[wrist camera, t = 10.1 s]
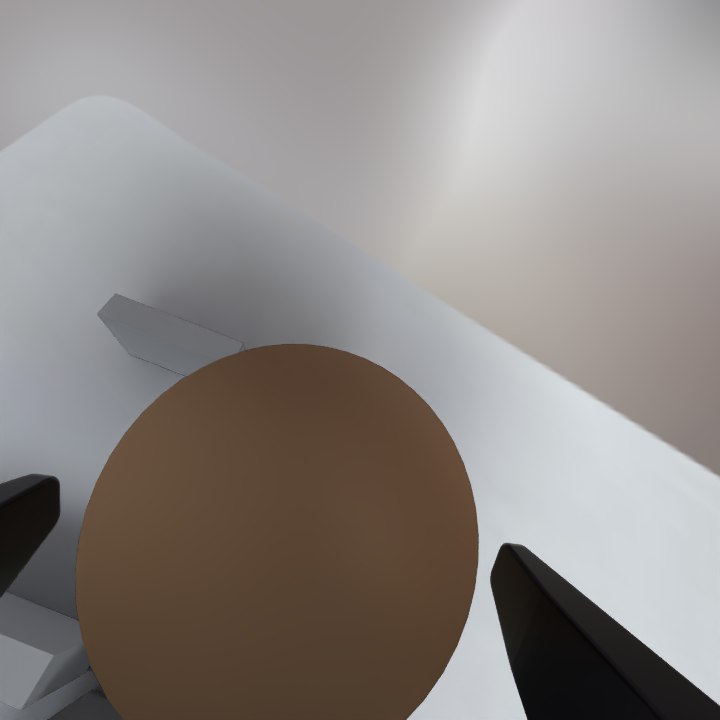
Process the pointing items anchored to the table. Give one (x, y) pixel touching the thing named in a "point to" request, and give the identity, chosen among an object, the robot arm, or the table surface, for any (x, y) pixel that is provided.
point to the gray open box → (89, 709)
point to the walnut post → (278, 545)
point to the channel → (44, 626)
